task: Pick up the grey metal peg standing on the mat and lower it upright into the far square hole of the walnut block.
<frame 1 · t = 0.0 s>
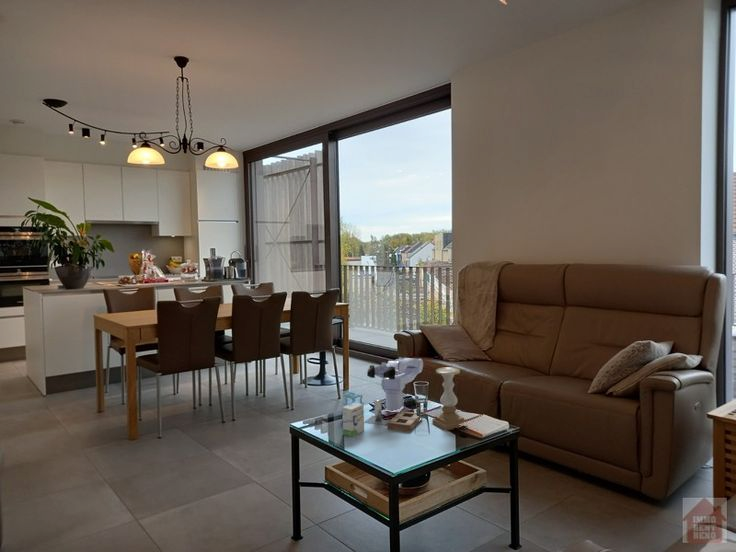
hand: (376, 374, 232), 22 cm above the table, tool horizontal, fingers open, 7 cm apart
mat: (378, 420, 236), on the table
candle holder: (449, 425, 228), on the table
block: (405, 424, 230), on the table
chair: (354, 418, 241), on the table
ink box: (353, 433, 222), on the table
peg: (378, 420, 236), resting on mat
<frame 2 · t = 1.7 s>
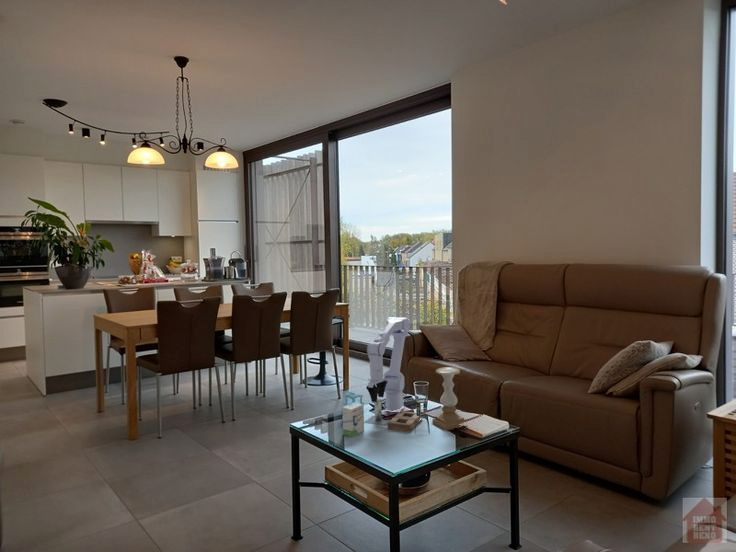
hand: (377, 399, 236), 10 cm above the table, tool pointing down, fingers open, 7 cm apart
nothing on the table moved.
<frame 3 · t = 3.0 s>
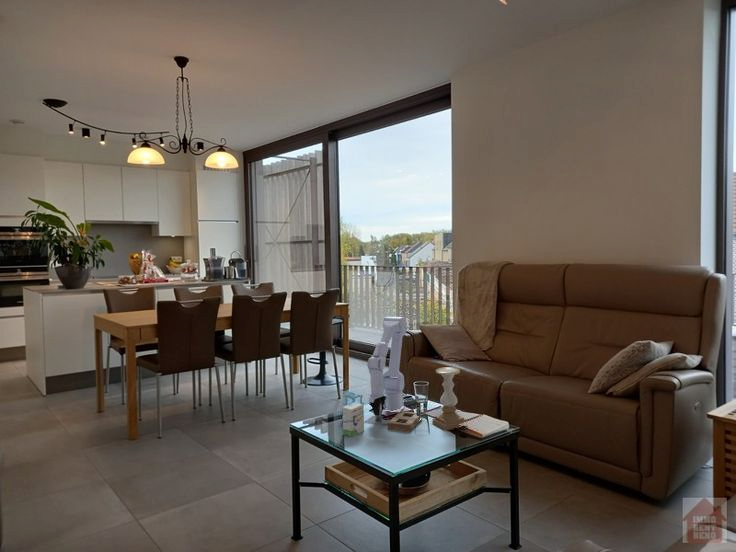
hand: (378, 413, 236), 3 cm above the table, tool pointing down, fingers closed on peg, 3 cm apart
peg: (378, 420, 236), resting on mat, touching gripper
everything else where it was.
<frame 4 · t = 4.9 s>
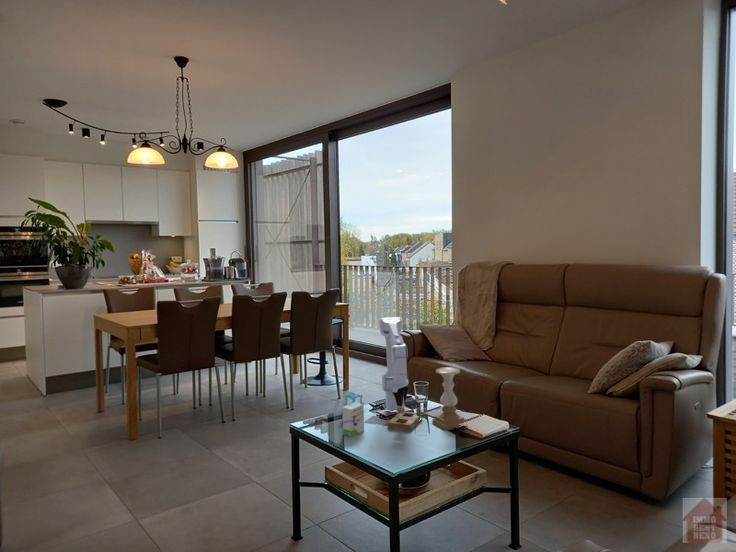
hand: (401, 404, 226), 10 cm above the table, tool pointing down, fingers closed on peg, 3 cm apart
peg: (401, 411, 226), point 7 cm above the table, touching gripper
everything else where it was.
when the fingers open (5 cm above the table, at t = 6.8 s): peg drops 2 cm, resting in block.
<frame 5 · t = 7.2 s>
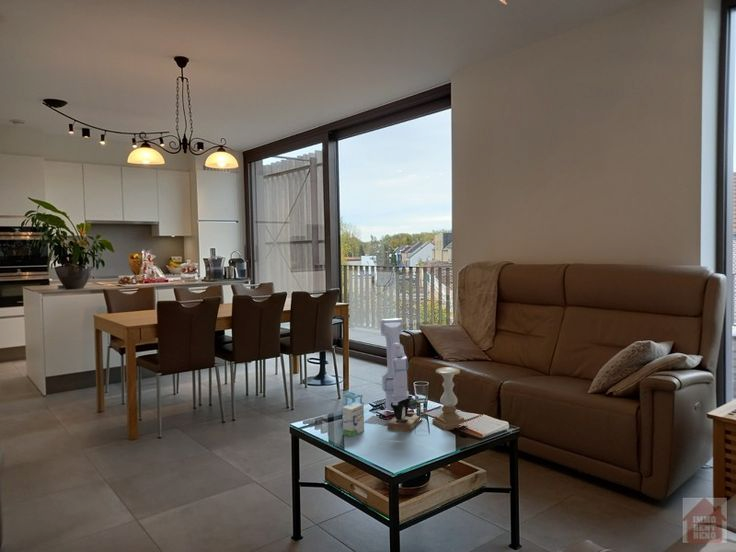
hand: (401, 416, 226), 5 cm above the table, tool pointing down, fingers open, 6 cm apart
peg: (401, 427, 226), resting in block
everything else where it was.
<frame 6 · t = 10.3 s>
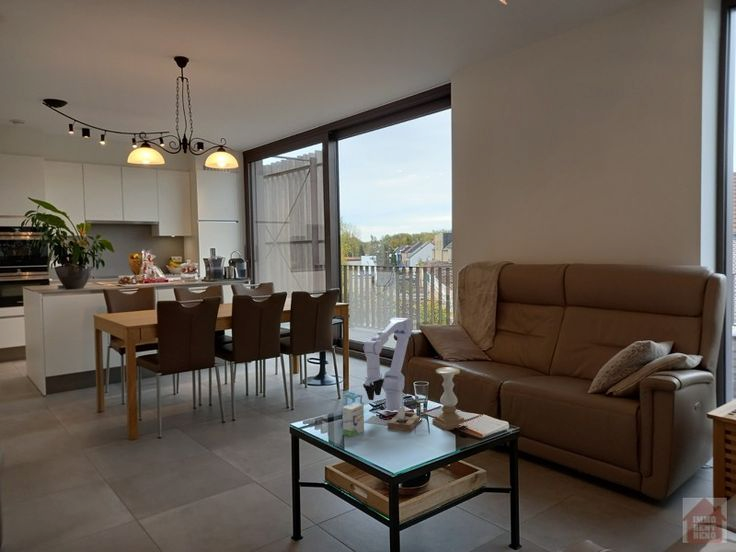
hand: (374, 397, 237), 10 cm above the table, tool pointing down, fingers open, 7 cm apart
nothing on the table moved.
at the end: peg 0.2 cm from the target spot on the block, point 0.0 cm above the block's base; peg tilted 0°; the gripper is holding nothing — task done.
